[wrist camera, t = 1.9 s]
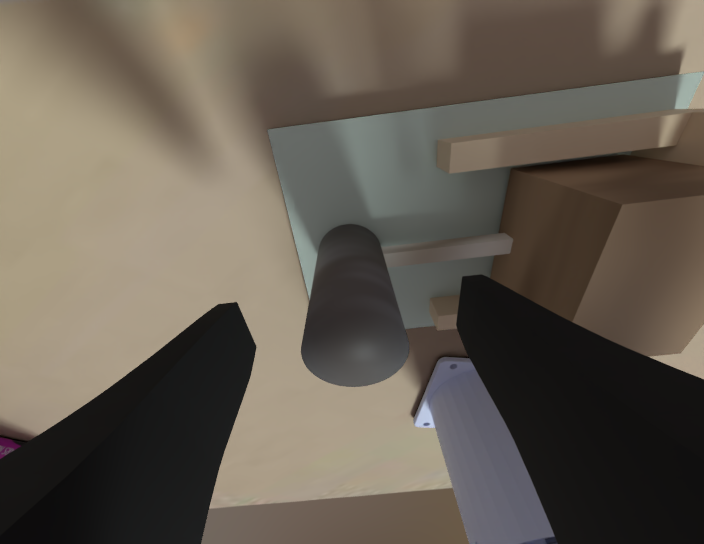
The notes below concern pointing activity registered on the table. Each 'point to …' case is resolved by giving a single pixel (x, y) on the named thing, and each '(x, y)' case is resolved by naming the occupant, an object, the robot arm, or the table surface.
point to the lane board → (464, 170)
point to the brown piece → (533, 264)
